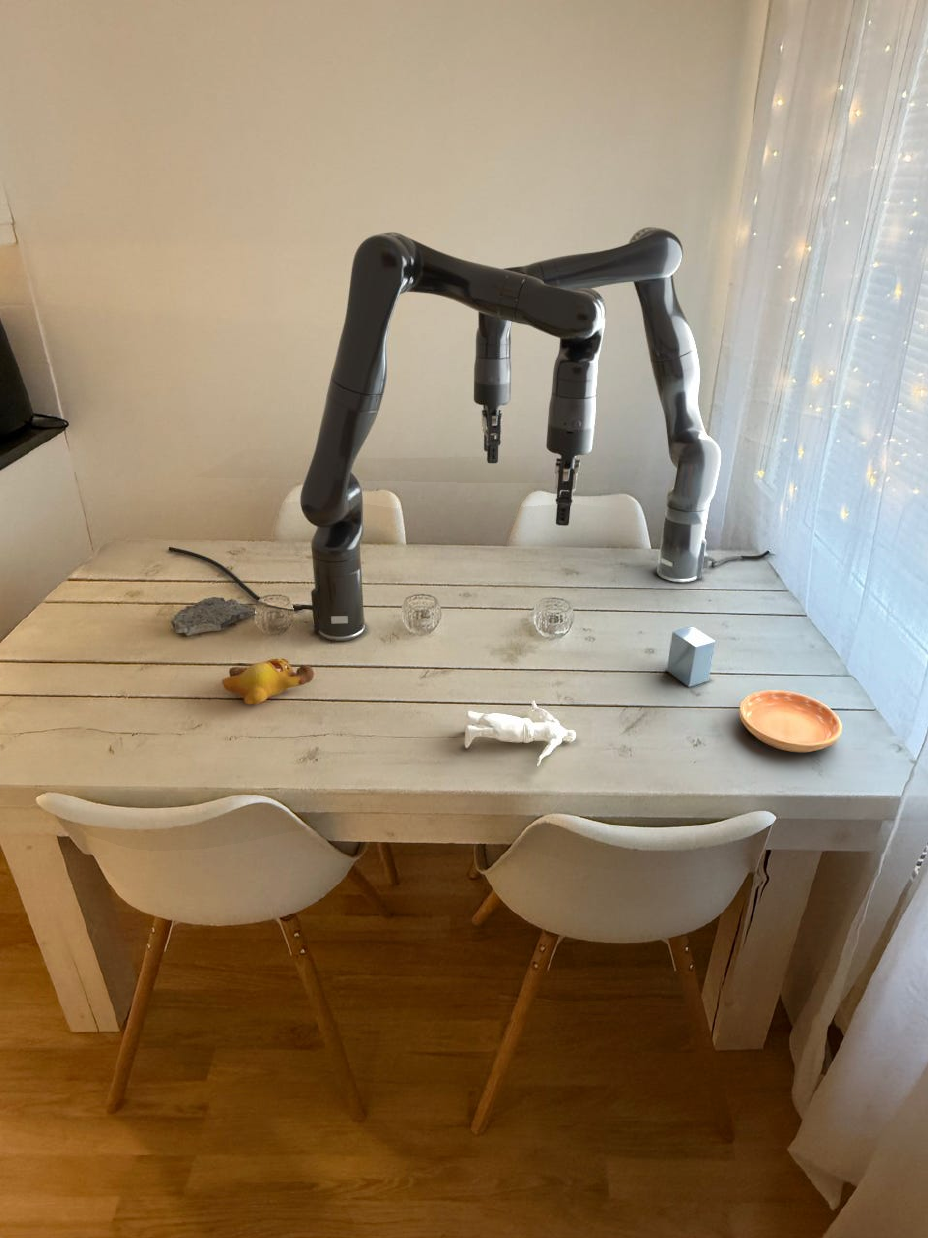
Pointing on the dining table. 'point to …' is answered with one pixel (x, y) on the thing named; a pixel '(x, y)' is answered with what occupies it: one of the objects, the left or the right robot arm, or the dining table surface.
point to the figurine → (517, 729)
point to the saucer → (790, 721)
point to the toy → (265, 679)
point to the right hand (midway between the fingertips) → (490, 456)
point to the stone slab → (210, 615)
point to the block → (690, 656)
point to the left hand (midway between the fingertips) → (563, 515)
